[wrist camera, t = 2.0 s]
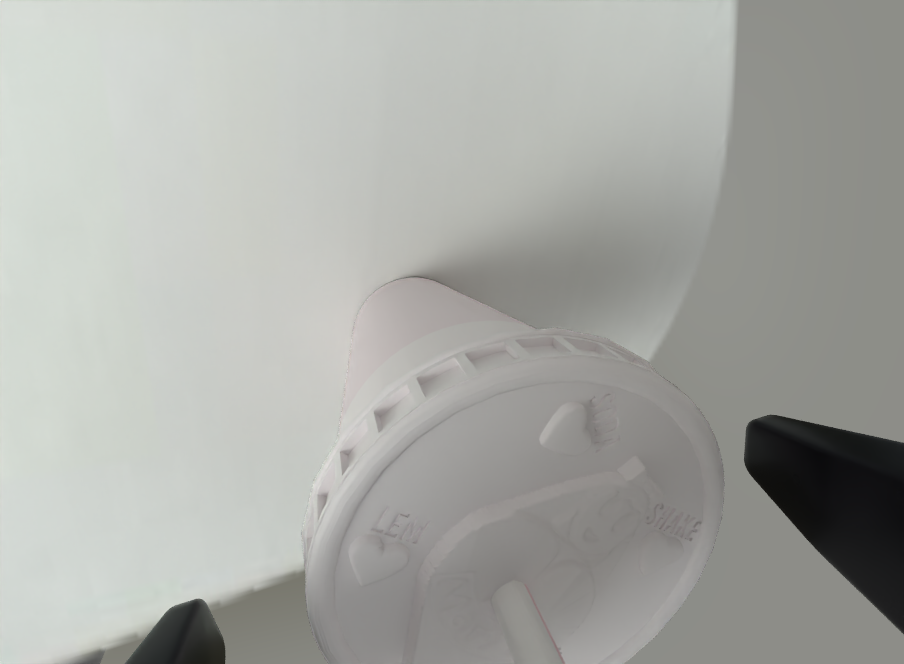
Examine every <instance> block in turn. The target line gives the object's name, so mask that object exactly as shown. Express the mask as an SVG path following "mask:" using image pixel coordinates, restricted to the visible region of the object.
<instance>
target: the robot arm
mask: <svg viewBox="0 0 904 664" xmlns="http://www.w3.org/2000/svg"><path fill="white" fill-rule="evenodd" d="M744 462H745V466H746V468H747V470H748V472H749V474H750V475H751V476H752V477H753V478H754V480H755V481H756V482H757V483H758V484H759V485H760V486H761V488H762V489H763V490H764V491H765V492H766V493H767V494H768V496H769V497H770V498H771V499H772V500H773V501H774V502H775V503H776V504H777V506H778V507H779V508H780V509H781V510H782V511H783V513H784V514H785V515H786V516H787V517H788V518H789V519H790V521H791V522H792V523H793V524H794V525H795V526H796V527H797V529H798V530H799V531H800V532H801V533H802V534H803V535H804V537H805V538H806V539H807V540H808V541H809V542H810V543H811V544H812V545H813V546H814V547H815V549H817V550H818V552H820V554H821V555H822V556H823V557H824V558H825V559H826V560H827V561H828V562H829V563H831V564H832V565H833V566H834V567H835V568H836V569H837V570H838V571H839V572H840V573H841V574H842V575H843V576H844V577H845V578H846V579H847V580H848V581H849V582H850V583H851V584H852V585H853V586H854V587H856V589H857V590H858V591H860V592H861V593H862V594H863V595H864V596H865V597H866V598H867V599H868V600H869V601H870V602H871V603H872V604H873V605H874V606H875V607H876V608H877V609H878V610H879V611H880V612H881V613H882V614H883V615H884V616H886V617H887V619H888V620H890V621H891V622H892V623H893V624H894V625H895V626H896V627H897V628H898V629H899V630H900V631H901V632H902V633H903V634H904V443H901V442H897V441H892V440H888V439H883V438H879V437H874V436H869V435H865V434H860V433H855V432H850V431H846V430H842V429H837V428H833V427H828V426H823V425H819V424H814V423H810V422H805V421H800V420H796V419H791V418H786V417H782V416H777V415H767V416H764V417H761V418H758V419H755V420H752V421H751V422H749V423H748V425H747V427H746V439H745V454H744ZM125 664H225V645H224V640H223V637H222V635H221V633H220V631H219V628H218V627H217V624H216V622H215V621H214V618H213V616H212V614H211V612H210V610H209V608H208V606H207V604H206V602H205V601H204V600H202V599H194V600H191V601H188V602H185V603H182V604H179V605H176V606H174V607H172V608H170V609H169V610H168V611H167V612H166V613H165V614H164V615H163V617H162V618H161V619H160V620H159V622H158V623H157V624H156V625H155V627H154V628H153V629H152V630H151V632H150V633H149V634H148V635H147V637H146V638H145V639H144V640H143V642H142V643H141V644H140V645H139V647H138V648H137V649H136V650H135V652H134V653H133V654H132V655H131V657H130V658H129V659H128V660H127V662H126V663H125Z"/></svg>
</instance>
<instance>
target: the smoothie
mask: <svg viewBox="0 0 904 664" xmlns="http://www.w3.org/2000/svg"><path fill="white" fill-rule="evenodd" d="M723 472H724V471H723V464H722V459H721V454H720V450H719V447H718V444H717V441H716V438H715V436H714V434H713V431H712V430H711V427H710V425H709V423H708V422H707V420H706V419H705V417H704V416H703V414H702V412H701V411H700V409H699V408H698V407H697V406H696V405H695V404H694V403H693V402H692V401H691V400H690V398H689V397H688V396H687V395H686V394H685V393H683V392H682V391H681V390H680V389H679V388H678V387H677V386H675V385H674V384H672V383H671V382H669V381H668V380H666V379H665V378H663V377H662V376H660V375H659V374H658V373H657V372H656V370H655V369H654V368H653V367H652V366H651V365H650V363H649V362H648V361H646V360H644V359H642V358H641V357H639V356H637V355H635V354H634V353H632V352H630V351H629V350H627V349H625V348H623V347H622V346H620V345H618V344H616V343H615V342H613V341H611V340H610V339H608V338H603V337H598V336H594V335H589V334H584V333H580V332H575V331H570V330H566V329H561V328H545V329H536V328H534V327H531V326H529V325H527V324H525V323H523V322H521V321H519V320H516V319H514V318H512V317H510V316H508V315H506V314H504V313H502V312H500V311H497V310H495V309H493V308H491V307H489V306H487V305H485V304H483V303H481V302H478V301H476V300H474V299H472V298H470V297H468V296H466V295H464V294H461V293H459V292H457V291H455V290H453V289H451V288H449V287H447V286H445V285H442V284H440V283H438V282H436V281H433V280H430V279H426V278H417V277H412V278H403V279H399V280H395V281H392V282H390V283H388V284H386V285H384V286H382V287H380V288H379V289H378V290H376V291H375V292H374V293H373V294H372V295H370V297H369V298H368V299H367V300H366V301H365V302H364V304H363V305H362V307H361V308H360V310H359V312H358V314H357V317H356V320H355V323H354V328H353V335H352V342H351V349H350V355H349V362H348V369H347V376H346V383H345V390H344V397H343V404H342V411H341V417H340V424H339V431H338V437H337V440H336V442H335V444H334V446H333V447H332V449H331V451H330V453H329V454H328V456H327V458H326V460H325V461H324V463H323V465H322V467H321V468H320V470H319V472H318V474H317V475H316V477H315V479H314V481H313V485H312V489H311V494H310V498H309V502H308V506H307V511H306V515H305V519H304V523H303V528H302V532H301V535H302V545H303V556H304V566H305V577H306V594H305V597H306V606H307V614H308V619H309V623H310V626H311V630H312V633H313V636H314V638H315V641H316V643H317V645H318V648H319V650H320V651H321V653H322V655H323V656H324V658H325V660H326V661H327V663H328V664H624V663H625V662H627V661H628V660H629V659H631V657H633V656H634V655H635V654H636V653H637V652H638V651H640V650H641V649H642V648H643V647H644V646H645V645H646V644H647V643H649V642H650V641H651V640H652V639H653V638H654V637H655V636H656V635H657V634H658V633H659V632H660V631H661V630H662V628H663V627H664V626H665V625H666V624H667V623H668V621H669V620H670V619H671V618H672V617H673V616H674V615H675V614H676V612H677V611H678V610H679V609H680V607H681V606H682V604H683V603H684V602H685V600H686V598H687V597H688V595H689V594H690V592H691V591H692V589H693V588H694V586H695V585H696V583H697V582H698V580H699V578H700V576H701V574H702V572H703V570H704V568H705V565H706V563H707V561H708V559H709V557H710V554H711V553H712V550H713V548H714V544H715V540H716V537H717V533H718V530H719V526H720V522H721V519H722V511H723V502H724V473H723Z"/></svg>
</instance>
